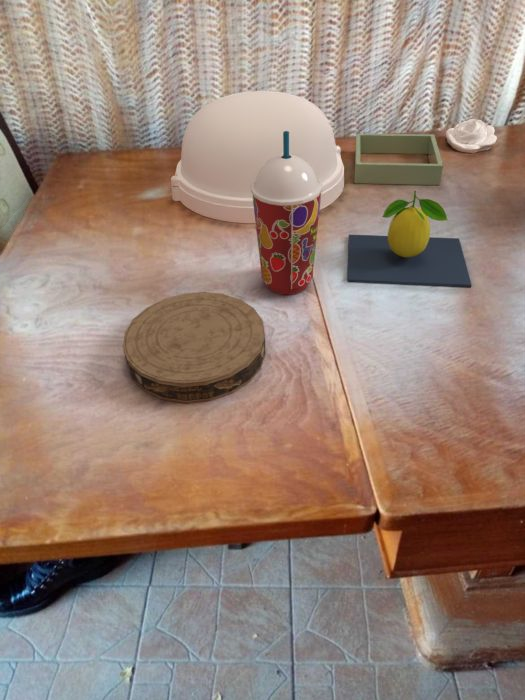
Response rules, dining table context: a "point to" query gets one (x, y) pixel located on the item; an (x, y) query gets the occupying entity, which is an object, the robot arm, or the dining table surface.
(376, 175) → the sage green tray
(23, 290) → the dining table surface
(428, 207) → the lemon
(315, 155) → the dome cover
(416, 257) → the mat
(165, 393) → the wood slice
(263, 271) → the smoothie
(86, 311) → the dining table surface
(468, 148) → the rose
